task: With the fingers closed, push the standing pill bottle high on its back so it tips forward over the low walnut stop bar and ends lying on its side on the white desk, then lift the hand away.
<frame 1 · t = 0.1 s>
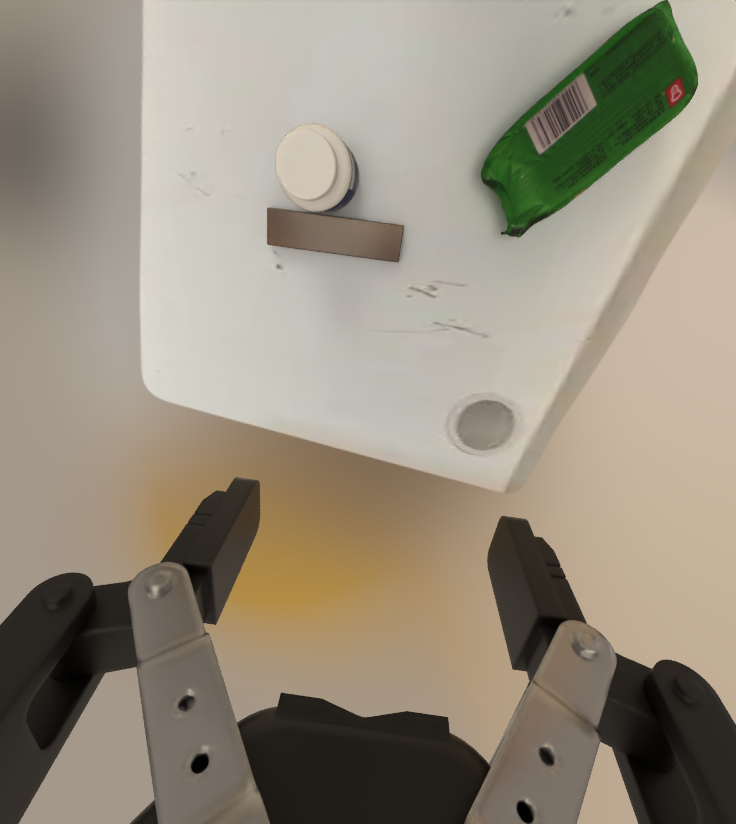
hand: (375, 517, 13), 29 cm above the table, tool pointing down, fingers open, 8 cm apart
pill bottle: (329, 176, 34), on the table
stop bar: (335, 234, 36), on the table
snack package: (567, 136, 32), on the table
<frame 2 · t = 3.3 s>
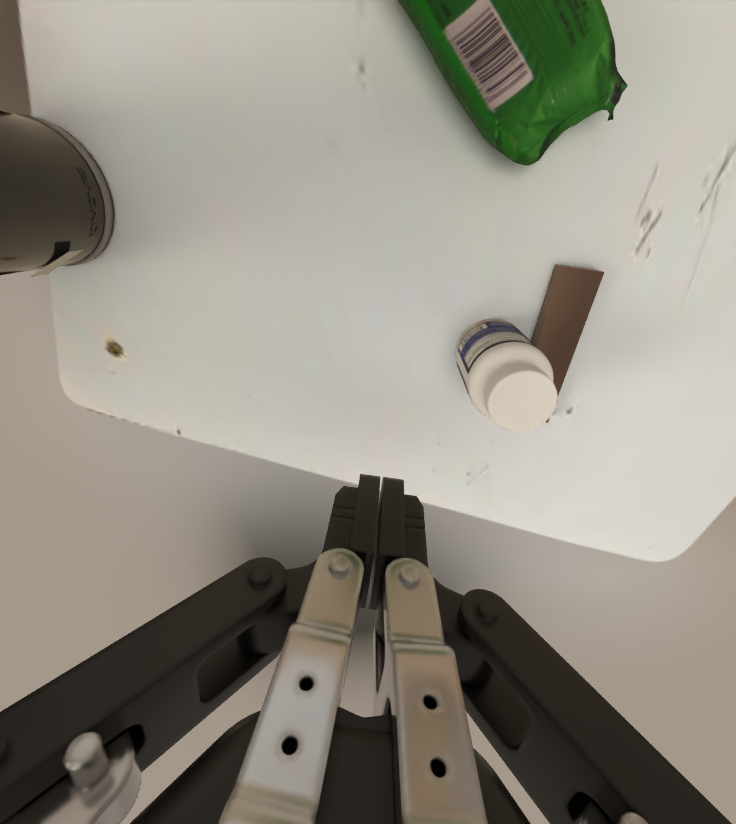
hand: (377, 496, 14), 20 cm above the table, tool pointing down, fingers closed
pill bottle: (488, 350, 32), on the table
stop bar: (548, 346, 31), on the table
snack package: (487, 31, 23), on the table
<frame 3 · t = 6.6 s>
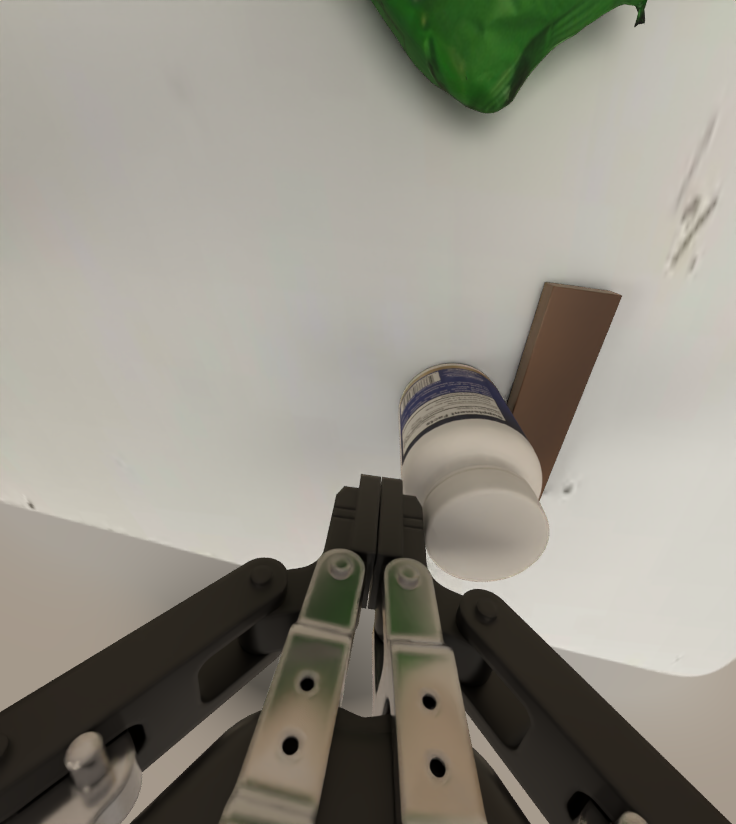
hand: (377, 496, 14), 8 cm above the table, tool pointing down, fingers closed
pill bottle: (447, 406, 22), on the table, touching gripper
stop bar: (536, 402, 21), on the table
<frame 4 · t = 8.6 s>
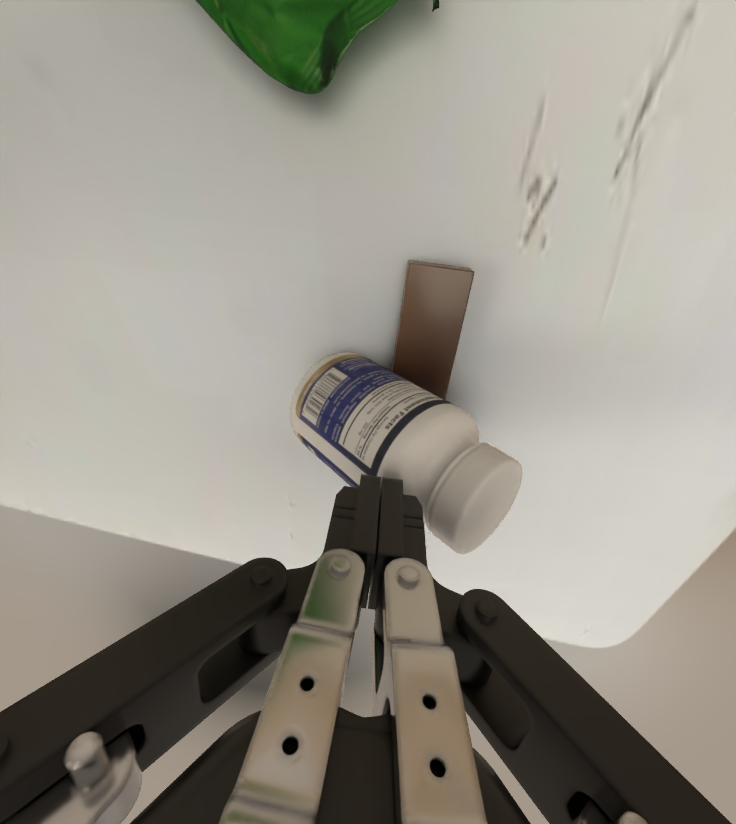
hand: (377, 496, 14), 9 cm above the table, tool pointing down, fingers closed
pill bottle: (330, 397, 21), point 2 cm above the table, touching gripper, stop bar
stop bar: (417, 378, 22), on the table
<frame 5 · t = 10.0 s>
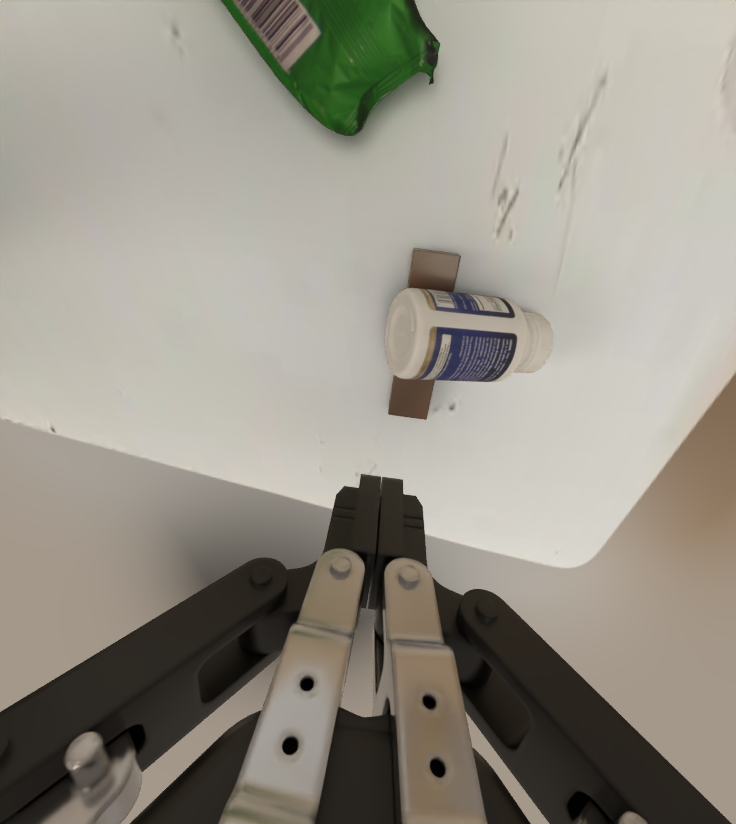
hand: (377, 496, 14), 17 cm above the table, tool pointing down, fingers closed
pill bottle: (395, 333, 24), point 5 cm above the table, touching stop bar
stop bar: (420, 338, 29), on the table
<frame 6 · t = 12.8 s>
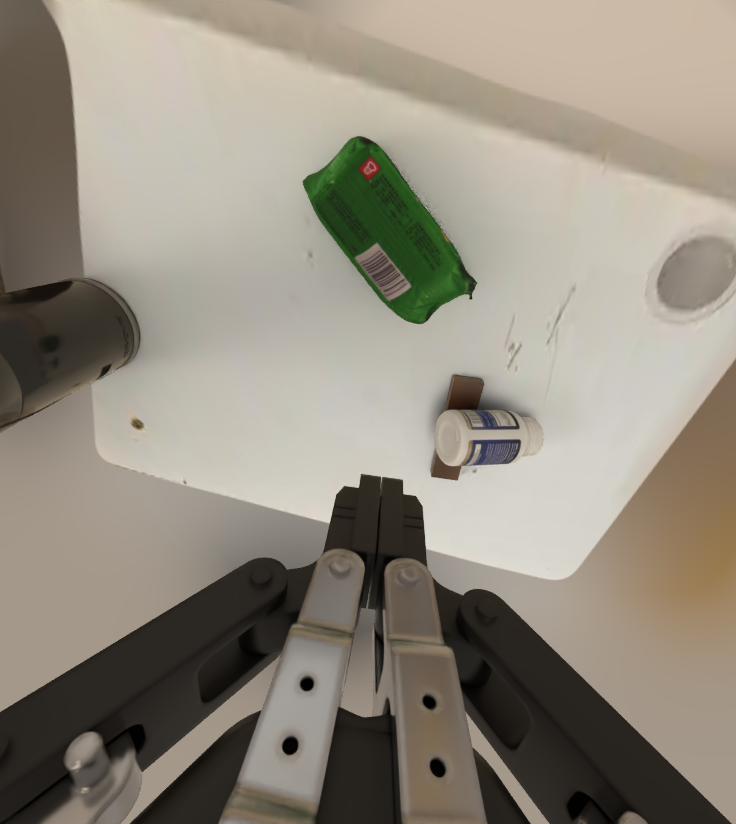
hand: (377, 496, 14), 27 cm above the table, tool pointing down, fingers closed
pill bottle: (444, 437, 38), point 5 cm above the table, touching stop bar
stop bar: (454, 427, 43), on the table
snack package: (392, 236, 35), on the table
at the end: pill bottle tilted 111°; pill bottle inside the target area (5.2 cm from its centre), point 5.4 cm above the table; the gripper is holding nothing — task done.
